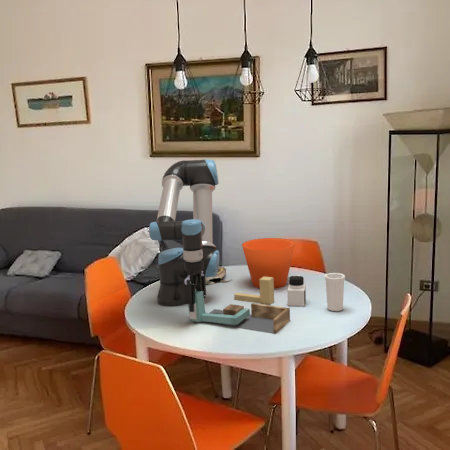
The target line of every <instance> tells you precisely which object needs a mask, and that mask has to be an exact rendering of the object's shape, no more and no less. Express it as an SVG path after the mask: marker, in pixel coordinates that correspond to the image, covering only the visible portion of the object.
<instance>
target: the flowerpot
mask: <svg viewBox="0 0 450 450" xmlns="http://www.w3.org/2000/svg"><path fill="white" fill-rule="evenodd" d="M295 244H296V242H295V241H293V240H291V239H287V238H281V237H280V238H279V237H266V238H265V237H264V238H261V237H260V238H256V239H255V238H254V239H250V240H246V241H244V242H243V243H242V244H241V247H242V251H243V254H244V258H245V262H246V264H247V268H248V272H249V275H250V279H251V283H252V286H253V287H255V288H256V289H260V280H259V279H261V278H262V277H273V279H274V290H276V289H281V288H284V287H285V286H286V285H287V283H288V280H289V274H290V269H291V264H292V260H293V255H294V249H295V246H296V245H295Z"/></svg>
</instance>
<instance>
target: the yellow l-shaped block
mask: <svg viewBox="0 0 450 450" xmlns="http://www.w3.org/2000/svg"><path fill="white" fill-rule="evenodd" d="M259 280H260V288H259V295H258V294H250V293H242V292H236V293H234V295H233V296H234V297H233V298H234V300H235V301H241V302H247V303H248V302H249V303H255V304H262V305H270V306H272V305H273V304H274V302H275V289H274V279H273V277H262V278H261V279H259Z"/></svg>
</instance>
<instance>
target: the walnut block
mask: <svg viewBox="0 0 450 450" xmlns="http://www.w3.org/2000/svg"><path fill="white" fill-rule="evenodd" d="M244 306H245V305H241V304H240V305H239V304H233V303H229V305H226V306H225V307H224V308H223V309H222V310H223V315H235V314H237V313H238V312H240V311H241V310H242V309H244V308H245V307H244Z"/></svg>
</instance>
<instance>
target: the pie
mask: <svg viewBox="0 0 450 450" xmlns="http://www.w3.org/2000/svg"><path fill="white" fill-rule="evenodd" d="M226 273H227V268H225V266H224V267H223V266H219V267H218V272H217V275H216V276H215V277H207V278H205V282H206V285H215V284H216V282H213V281H210V280H214V279H220V280H219V281H220V283H228V282H230V280H226V279H225V280H224V279H223V278H224V276H225V275H226Z"/></svg>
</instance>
